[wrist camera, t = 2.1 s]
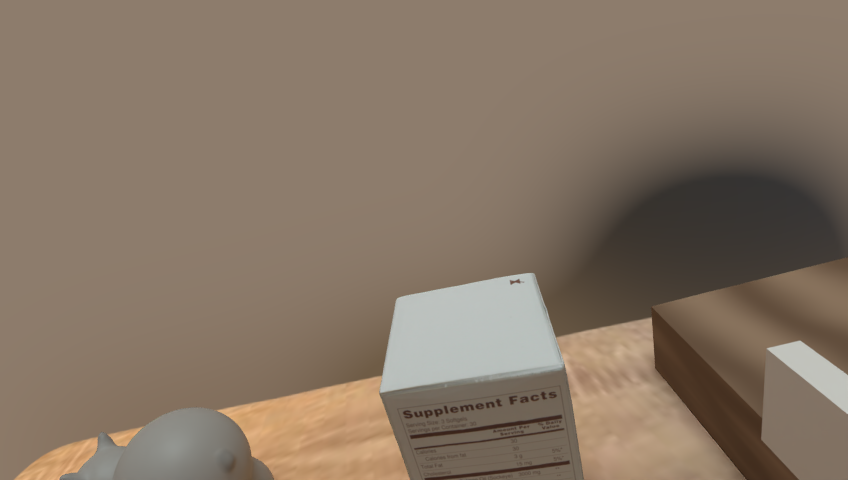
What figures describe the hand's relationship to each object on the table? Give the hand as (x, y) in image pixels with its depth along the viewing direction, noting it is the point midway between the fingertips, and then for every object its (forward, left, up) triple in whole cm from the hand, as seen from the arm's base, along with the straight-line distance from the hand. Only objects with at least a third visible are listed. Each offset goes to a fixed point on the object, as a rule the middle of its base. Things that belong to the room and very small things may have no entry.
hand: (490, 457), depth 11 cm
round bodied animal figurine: (+20, -14, -15) cm, 29 cm away
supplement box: (0, -10, -15) cm, 18 cm away
